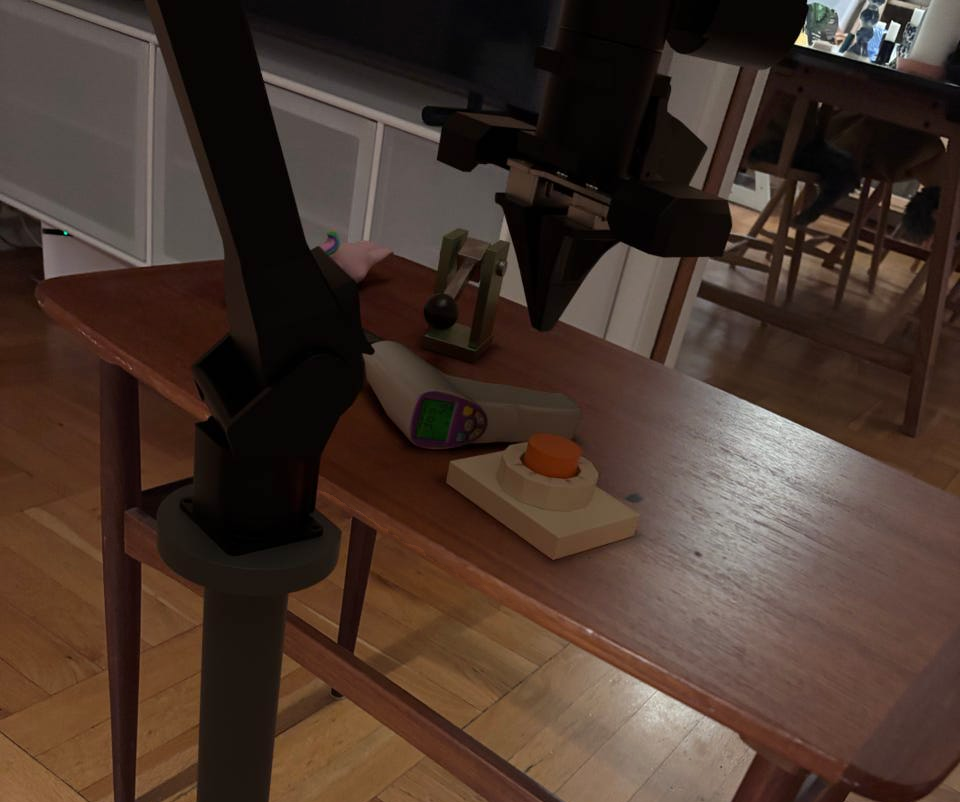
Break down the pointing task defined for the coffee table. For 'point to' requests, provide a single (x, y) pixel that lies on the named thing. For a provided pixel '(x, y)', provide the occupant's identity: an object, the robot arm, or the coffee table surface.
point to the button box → (543, 502)
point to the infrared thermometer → (461, 404)
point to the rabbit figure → (354, 255)
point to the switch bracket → (478, 337)
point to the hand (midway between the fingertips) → (541, 329)
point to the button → (552, 456)
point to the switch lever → (456, 285)
